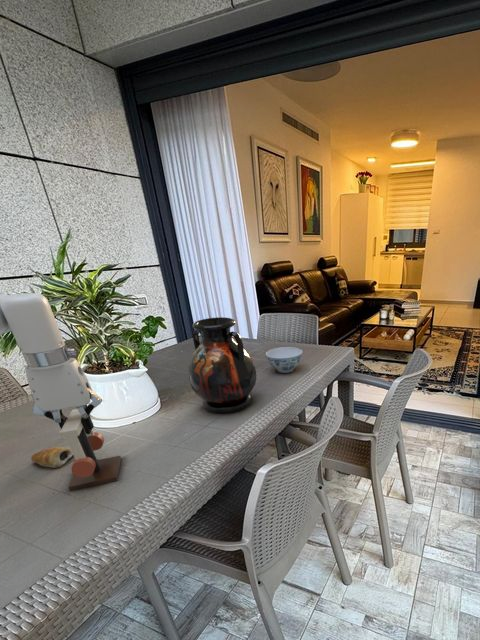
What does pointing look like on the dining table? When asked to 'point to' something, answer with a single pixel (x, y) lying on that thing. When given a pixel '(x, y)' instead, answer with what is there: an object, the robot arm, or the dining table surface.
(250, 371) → the amphora vase
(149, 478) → the dining table surface
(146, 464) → the dining table surface
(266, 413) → the dining table surface
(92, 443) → the over-ear headset
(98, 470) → the headphone stand
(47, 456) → the pastry
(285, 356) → the chinaware
